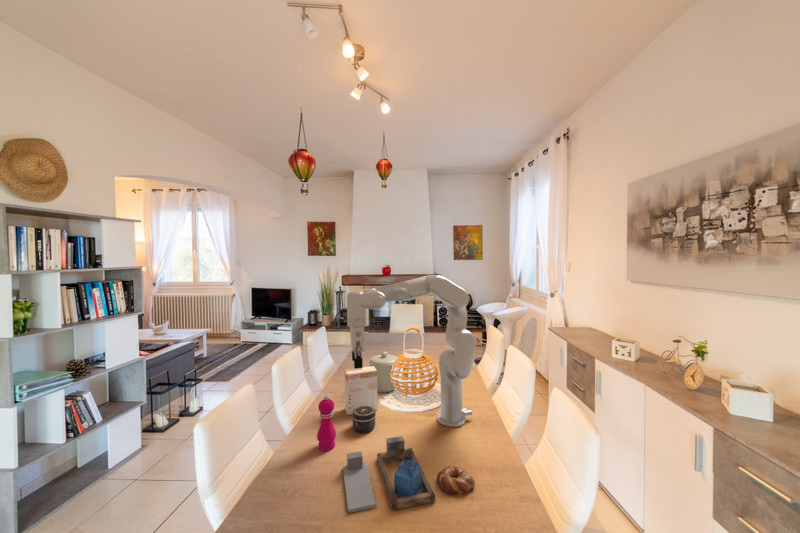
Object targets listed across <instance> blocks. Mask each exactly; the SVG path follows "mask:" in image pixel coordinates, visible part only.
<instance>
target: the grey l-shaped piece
mask: <svg viewBox="0 0 800 533" xmlns="http://www.w3.org/2000/svg"><path fill="white" fill-rule="evenodd" d="M362 452H363V451H356V452H350V453H349V452H348V453H346V464H345V465H342V476H343V481H344V490H345V497H346V499H345V500H346V506H347V514H351V513H355V512H360V511H365V510H371V509H375V508H377V507H376V506H377V505H376V504H377V502H376V499H375V496H374V491H373V487H372V482H371V478H370V474H369V470H368V465H367V462H366V461H363V460H364V459H363V457H364V456H363V453H362Z"/></svg>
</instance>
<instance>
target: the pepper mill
mask: <svg viewBox="0 0 800 533" xmlns="http://www.w3.org/2000/svg"><path fill="white" fill-rule="evenodd" d="M334 409H335V402H334V401H333V400H332V399H331V398H330V397H329V395H327V394H326V395H324V397H323V399H322V400H320V401H319V403H318V411H319V417H320V425H319V429H318V430H317V434H316V435H317V436H316V439H317V441H318V445H317V446H318V450H320V451H321V452H328V451H332V450H333V449H334V448H335V446H336V440H335V439H336V438H337V431H336V428H335V426H334V423H333V415H334Z"/></svg>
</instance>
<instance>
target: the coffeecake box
mask: <svg viewBox="0 0 800 533" xmlns="http://www.w3.org/2000/svg"><path fill="white" fill-rule="evenodd" d="M359 406H371V407H373V408H374V409H375V411H378V392H377V370H376V369H375V367H374V366H371V367H370V366H365V367H362V368H357V369H355V368H349V369H348V368H347V369H344V409H345V413H346V415H347V416H349V415H352V413H353V410H354V409H355V408H356V407H359Z"/></svg>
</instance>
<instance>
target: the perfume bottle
mask: <svg viewBox="0 0 800 533" xmlns="http://www.w3.org/2000/svg"><path fill="white" fill-rule="evenodd" d="M413 452H414V451H413ZM413 452H412V451H410V450H406V451H404V452H403V460H402V462H400V464H399V465H398V467H397V468H396V470H395V472H394V479H393V481H394V483H393V484H394V487H393V490H394V493H395V495H397V496H398V497H400V498H403V497H408V496H413V495H418V494H420V493H419V492H420V491H422V488H423V486H422V472H421V468H422V467H421V468H420V467H419V465H418V464H417V462H414V461H413V460H414V457H413Z"/></svg>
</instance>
